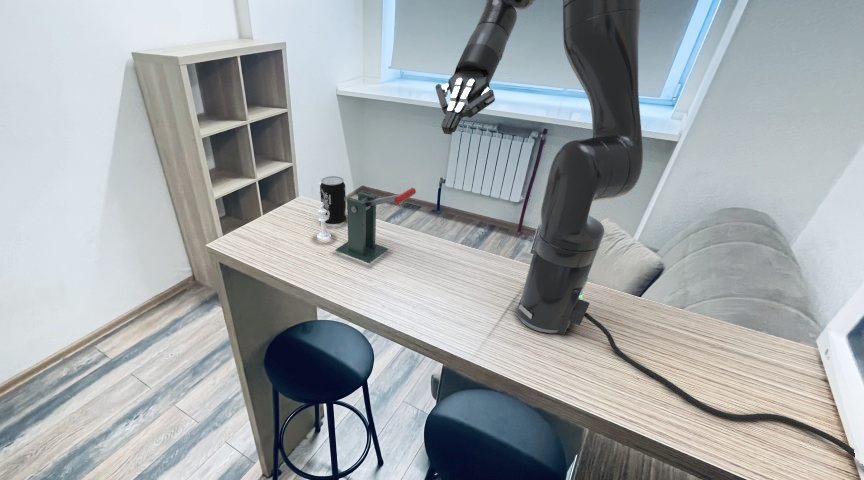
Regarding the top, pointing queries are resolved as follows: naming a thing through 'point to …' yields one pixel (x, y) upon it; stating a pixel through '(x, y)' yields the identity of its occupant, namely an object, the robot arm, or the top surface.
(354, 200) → the bracket
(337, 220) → the beverage can
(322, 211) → the chess piece
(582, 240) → the robot arm
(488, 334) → the top surface
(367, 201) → the lever
